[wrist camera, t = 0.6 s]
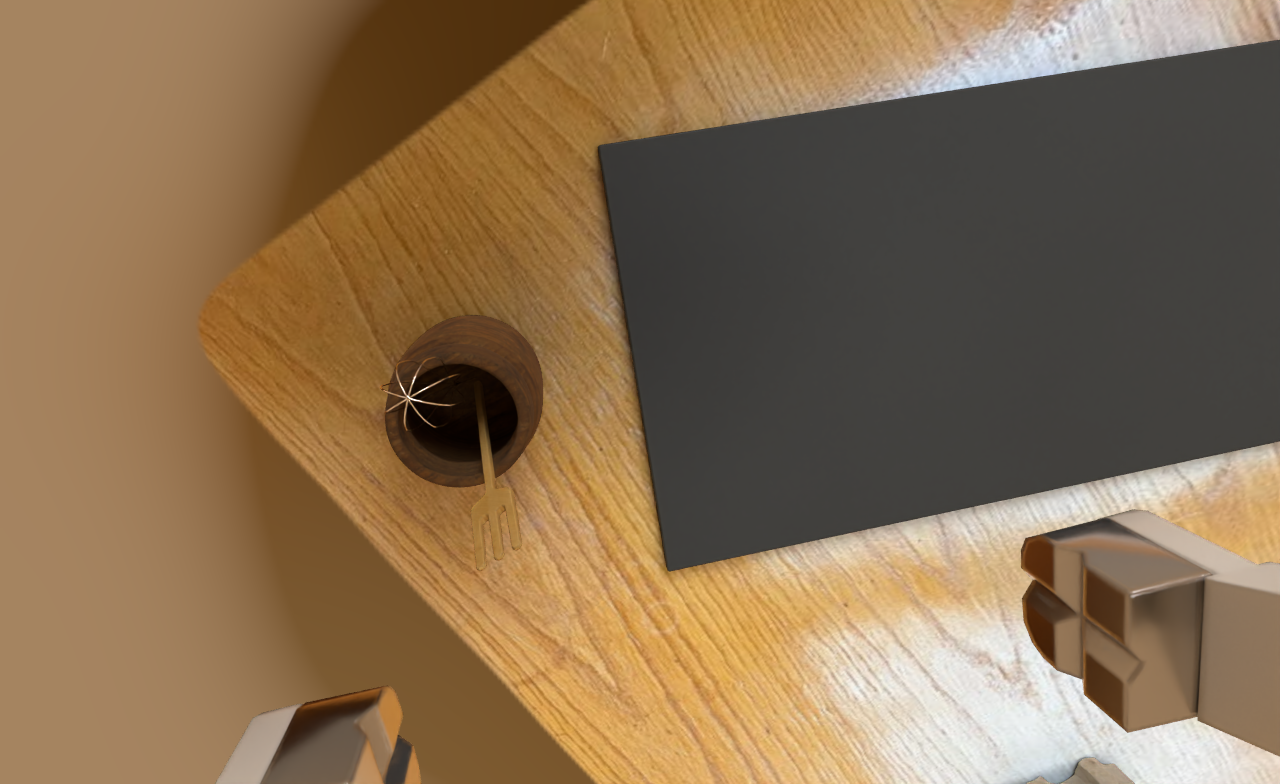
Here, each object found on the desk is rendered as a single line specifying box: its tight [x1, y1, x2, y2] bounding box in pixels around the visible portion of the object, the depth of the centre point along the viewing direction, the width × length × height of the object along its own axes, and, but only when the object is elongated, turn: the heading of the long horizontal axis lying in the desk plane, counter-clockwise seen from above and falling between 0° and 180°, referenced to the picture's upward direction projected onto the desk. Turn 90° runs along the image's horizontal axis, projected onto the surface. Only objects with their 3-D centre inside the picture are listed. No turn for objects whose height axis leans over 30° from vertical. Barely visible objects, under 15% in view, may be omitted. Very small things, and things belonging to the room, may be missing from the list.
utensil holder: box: [380, 315, 543, 571], centre depth 26 cm, size 6×6×12 cm
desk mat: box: [598, 40, 1280, 571], centre depth 34 cm, size 20×36×1 cm, turn 99°
